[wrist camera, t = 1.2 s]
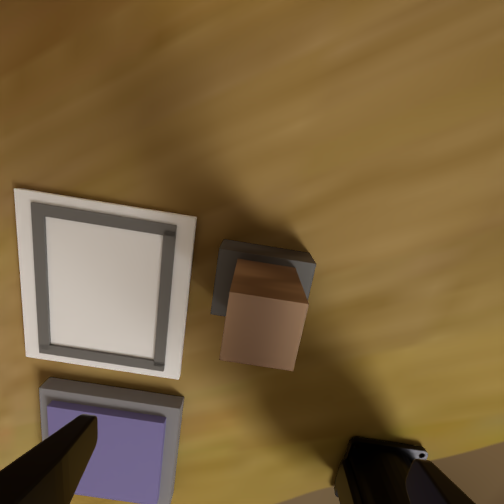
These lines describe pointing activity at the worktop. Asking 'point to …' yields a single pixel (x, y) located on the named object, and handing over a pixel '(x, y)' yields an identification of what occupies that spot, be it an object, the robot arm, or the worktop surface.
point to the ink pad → (120, 438)
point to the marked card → (104, 282)
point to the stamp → (262, 302)
